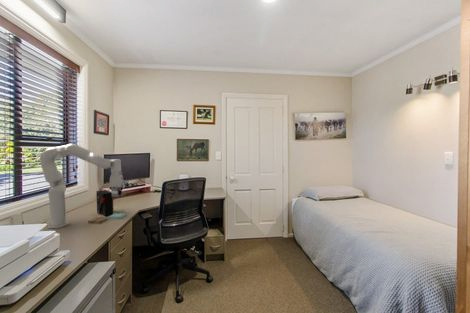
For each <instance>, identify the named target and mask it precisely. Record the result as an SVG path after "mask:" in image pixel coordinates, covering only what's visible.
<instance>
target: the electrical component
mask: <svg viewBox="0 0 470 313" xmlns="http://www.w3.org/2000/svg"><path fill="white" fill-rule="evenodd" d="M96 213H97V214H99V215H101V216H102V217H109V216H111V215H113V214H114V213H116V212H115V210H114V197H112V191H109V190H106V189H103V190H102V189H101V190H96Z"/></svg>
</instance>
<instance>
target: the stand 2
mask: <svg viewBox="0 0 470 313" xmlns="http://www.w3.org/2000/svg"><path fill="white" fill-rule="evenodd" d="M126 216H127V213H125V212H123V213H121V212H120V213H119V212H115V213H114V214H113V215H111V216H107V217H108V220H122V219H124V217H126Z"/></svg>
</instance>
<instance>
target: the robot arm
mask: <svg viewBox="0 0 470 313" xmlns="http://www.w3.org/2000/svg"><path fill="white" fill-rule="evenodd" d="M67 156H74V157H75V158H77V159H80V160H83V161H84V162H86V163H90V164H93V165H94V166H97V167H99V168H101V169H104V170H106V169H109V168H110V173H111V174H110V177H109V184H108V185H107V188H109V189H110V190H111V188H114V187H118V188H119V195H121V194H122V195H123V189H125V188H126V185H125V183H124V176H123V171H122V160H121V159H119V158H113V159H109V158H104V157H102V156H101V155H97V154H96V153H95V152H93V151H91V150H88V149H86V148H84V147H82V146H79V145H77V144H75V143H73V142H72V143H68V144H64V145H59V146H52V147H48V148H46V149H45V150H44V151H43V152H42V153H41V154H40V157H39V162H40V165H41V170H42V173H43V176H44V180H45V181H46V182H47V183H48V184H49V186H50V187H49V189H48V200H49V202H48V203H49V219H48V220H46V222H45V223H46V224H48V225H47V228H49V229H58V228H59V229H60V228H64V227H67V226H68V225H69V221H67V213H66V211H67V209H66V193H65V192H66V191H67V186H66V182H65V179H64V177H63V176H64V175H63V173H62V172H61V171H60V170H58V168H57V167H58V166H57V164H56V159H57V158H58V159H59V158H62V157H67ZM122 195H121V196H122Z"/></svg>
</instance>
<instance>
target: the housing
mask: <svg viewBox="0 0 470 313" xmlns="http://www.w3.org/2000/svg"><path fill="white" fill-rule="evenodd" d="M110 190H111V191H110V192H112V197H113V198H114V197H115V198H116V197H120V196H122V195H123V193H122V194H121V195H119V188H118V187H114V188H111V189H110Z"/></svg>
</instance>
